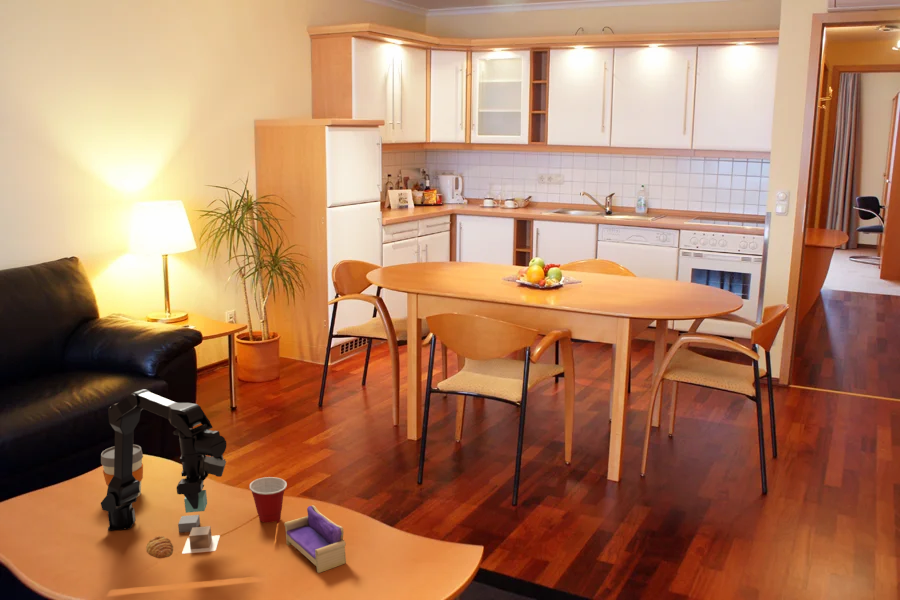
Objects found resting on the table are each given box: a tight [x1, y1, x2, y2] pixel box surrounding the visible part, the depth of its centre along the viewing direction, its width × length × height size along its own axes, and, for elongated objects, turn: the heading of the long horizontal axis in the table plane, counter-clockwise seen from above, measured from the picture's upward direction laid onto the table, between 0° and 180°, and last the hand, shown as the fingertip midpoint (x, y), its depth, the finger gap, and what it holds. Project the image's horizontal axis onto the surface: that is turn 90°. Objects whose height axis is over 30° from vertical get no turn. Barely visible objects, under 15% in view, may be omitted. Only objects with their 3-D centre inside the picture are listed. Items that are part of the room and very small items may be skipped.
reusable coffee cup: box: [100, 443, 144, 498], centre depth 267 cm, size 13×13×15 cm
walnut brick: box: [188, 525, 213, 549], centre depth 231 cm, size 5×5×4 cm
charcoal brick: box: [177, 514, 201, 533], centre depth 242 cm, size 5×5×4 cm
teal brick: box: [183, 489, 208, 513], centre depth 229 cm, size 5×5×4 cm
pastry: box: [145, 535, 174, 559], centre depth 229 cm, size 9×7×4 cm
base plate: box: [181, 534, 221, 555], centre depth 232 cm, size 9×9×1 cm
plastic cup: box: [249, 476, 288, 524], centre depth 246 cm, size 11×11×12 cm
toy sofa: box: [283, 504, 347, 574], centre depth 226 cm, size 21×9×10 cm, turn 35°
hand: (197, 504), depth 229 cm, fingers closed on teal brick, 5 cm apart
